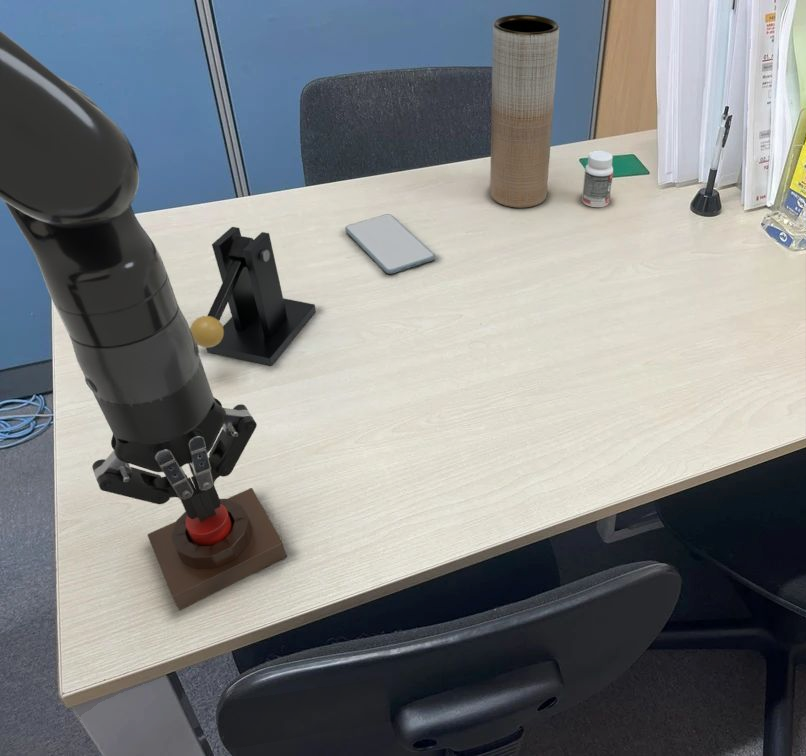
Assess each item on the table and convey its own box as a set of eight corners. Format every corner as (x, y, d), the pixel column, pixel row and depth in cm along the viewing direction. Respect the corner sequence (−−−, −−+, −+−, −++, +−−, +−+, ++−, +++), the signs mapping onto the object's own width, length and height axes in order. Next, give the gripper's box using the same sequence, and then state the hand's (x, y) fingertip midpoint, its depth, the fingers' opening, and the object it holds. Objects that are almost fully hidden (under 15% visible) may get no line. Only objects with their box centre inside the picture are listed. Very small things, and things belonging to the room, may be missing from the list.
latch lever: (222, 355, 81) (207, 341, 78) (194, 349, 81) (178, 335, 78) (267, 252, 86) (255, 235, 83) (241, 248, 87) (228, 231, 83)
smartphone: (387, 271, 102) (343, 225, 111) (388, 277, 103) (343, 231, 112) (437, 255, 106) (390, 212, 115) (437, 260, 106) (390, 217, 115)
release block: (179, 611, 62) (166, 586, 59) (154, 547, 67) (140, 522, 64) (287, 556, 67) (279, 531, 64) (256, 501, 71) (247, 475, 69)
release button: (197, 552, 62) (192, 540, 61) (185, 525, 65) (179, 513, 63) (237, 533, 64) (233, 522, 63) (224, 507, 66) (219, 495, 65)
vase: (547, 184, 126) (560, 16, 108) (545, 210, 119) (558, 35, 101) (493, 180, 127) (496, 12, 108) (487, 206, 119) (489, 31, 101)
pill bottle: (611, 207, 120) (618, 161, 115) (584, 208, 120) (590, 161, 114) (605, 194, 124) (611, 149, 118) (579, 195, 124) (584, 149, 118)
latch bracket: (271, 366, 87) (248, 271, 78) (207, 352, 89) (176, 258, 79) (316, 311, 96) (299, 220, 87) (256, 299, 97) (234, 209, 88)
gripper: (217, 310, 57) (261, 455, 68) (34, 370, 51) (116, 517, 62) (251, 360, 52) (292, 506, 64) (55, 433, 46) (139, 579, 58)
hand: (204, 512), depth 63 cm, fingers closed
